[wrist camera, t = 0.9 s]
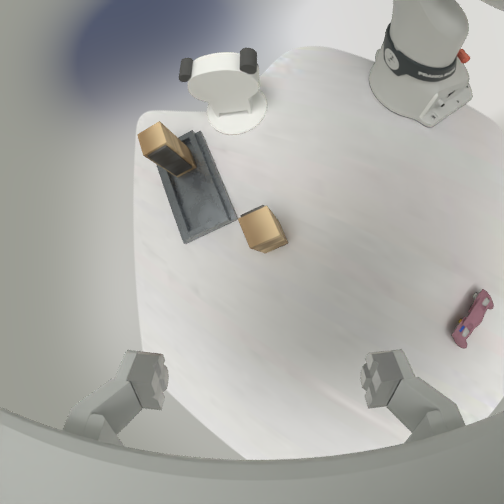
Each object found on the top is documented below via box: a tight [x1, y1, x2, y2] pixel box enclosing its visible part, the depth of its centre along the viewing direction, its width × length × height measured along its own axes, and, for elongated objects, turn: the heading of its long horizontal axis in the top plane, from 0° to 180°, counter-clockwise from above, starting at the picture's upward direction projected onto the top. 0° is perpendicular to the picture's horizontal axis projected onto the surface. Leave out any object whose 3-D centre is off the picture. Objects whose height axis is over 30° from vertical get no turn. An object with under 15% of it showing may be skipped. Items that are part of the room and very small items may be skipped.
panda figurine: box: [179, 48, 267, 135], centre depth 45 cm, size 12×11×15 cm
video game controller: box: [452, 289, 494, 348], centre depth 40 cm, size 10×5×7 cm, turn 140°
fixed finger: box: [138, 121, 197, 178], centre depth 47 cm, size 4×4×12 cm
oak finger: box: [238, 205, 288, 253], centre depth 44 cm, size 4×4×12 cm
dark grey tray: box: [157, 130, 238, 244], centre depth 52 cm, size 10×18×2 cm, turn 23°
